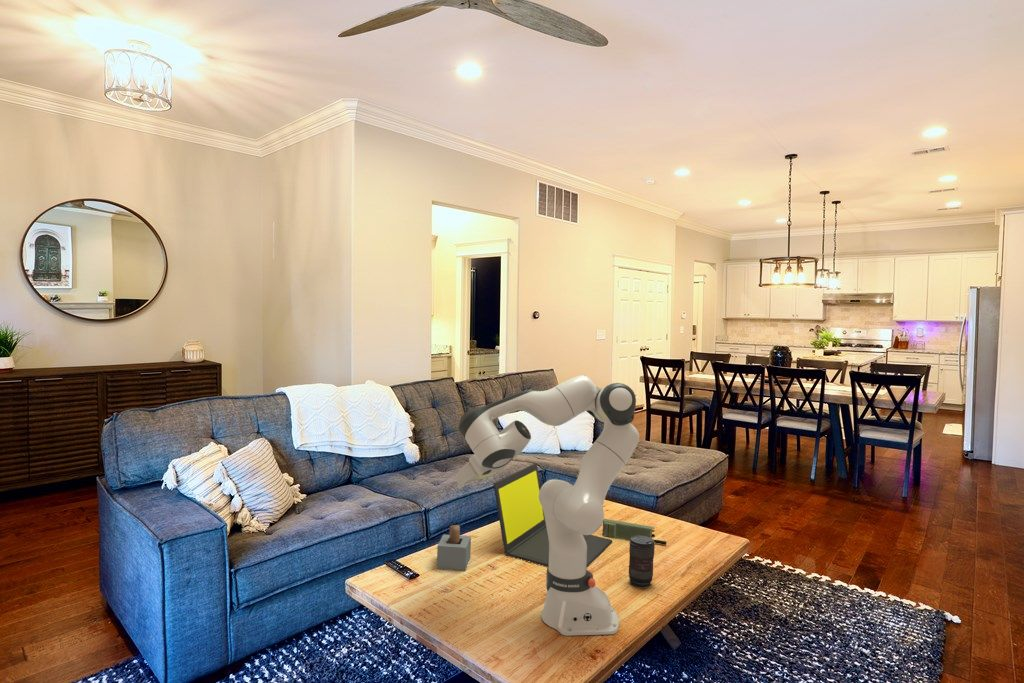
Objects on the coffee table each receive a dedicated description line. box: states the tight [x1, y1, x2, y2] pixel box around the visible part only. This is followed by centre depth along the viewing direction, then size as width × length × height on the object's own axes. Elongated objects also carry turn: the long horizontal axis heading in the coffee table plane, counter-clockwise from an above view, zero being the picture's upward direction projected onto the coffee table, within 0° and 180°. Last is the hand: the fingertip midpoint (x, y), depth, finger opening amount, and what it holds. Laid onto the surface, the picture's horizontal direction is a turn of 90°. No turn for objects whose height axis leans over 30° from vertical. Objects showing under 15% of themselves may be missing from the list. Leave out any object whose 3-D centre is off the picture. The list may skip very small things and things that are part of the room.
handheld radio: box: [602, 518, 667, 546], centre depth 224 cm, size 7×3×25 cm
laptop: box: [493, 463, 613, 569], centre depth 215 cm, size 33×35×26 cm
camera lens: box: [628, 535, 656, 589], centre depth 188 cm, size 8×8×15 cm
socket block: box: [436, 534, 472, 572], centre depth 199 cm, size 10×10×8 cm
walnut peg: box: [449, 524, 461, 544], centre depth 198 cm, size 4×4×10 cm
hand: (468, 483), depth 183 cm, fingers open, 8 cm apart
